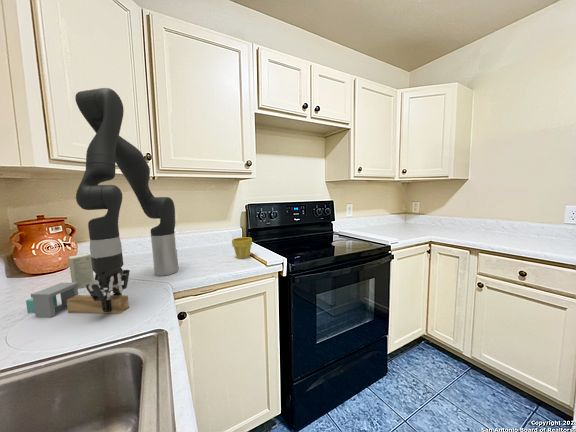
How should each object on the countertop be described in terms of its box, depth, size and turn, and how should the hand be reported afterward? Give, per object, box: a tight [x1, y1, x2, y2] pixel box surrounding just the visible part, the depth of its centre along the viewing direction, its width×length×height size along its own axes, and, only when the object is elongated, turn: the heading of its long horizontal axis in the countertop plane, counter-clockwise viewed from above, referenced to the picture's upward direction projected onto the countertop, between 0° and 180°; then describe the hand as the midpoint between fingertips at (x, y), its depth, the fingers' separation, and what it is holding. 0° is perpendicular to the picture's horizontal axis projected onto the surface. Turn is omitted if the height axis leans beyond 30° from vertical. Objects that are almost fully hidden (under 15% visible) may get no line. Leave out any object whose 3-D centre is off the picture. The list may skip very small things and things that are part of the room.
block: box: [25, 295, 58, 314], centre depth 77 cm, size 4×5×4 cm
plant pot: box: [231, 236, 253, 260], centre depth 129 cm, size 10×10×10 cm
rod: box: [66, 294, 130, 314], centre depth 75 cm, size 4×17×4 cm, turn 85°
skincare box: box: [67, 252, 95, 289], centre depth 95 cm, size 6×4×12 cm
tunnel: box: [30, 282, 79, 318], centre depth 76 cm, size 9×6×7 cm
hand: (113, 308), depth 74 cm, fingers closed on rod, 3 cm apart
